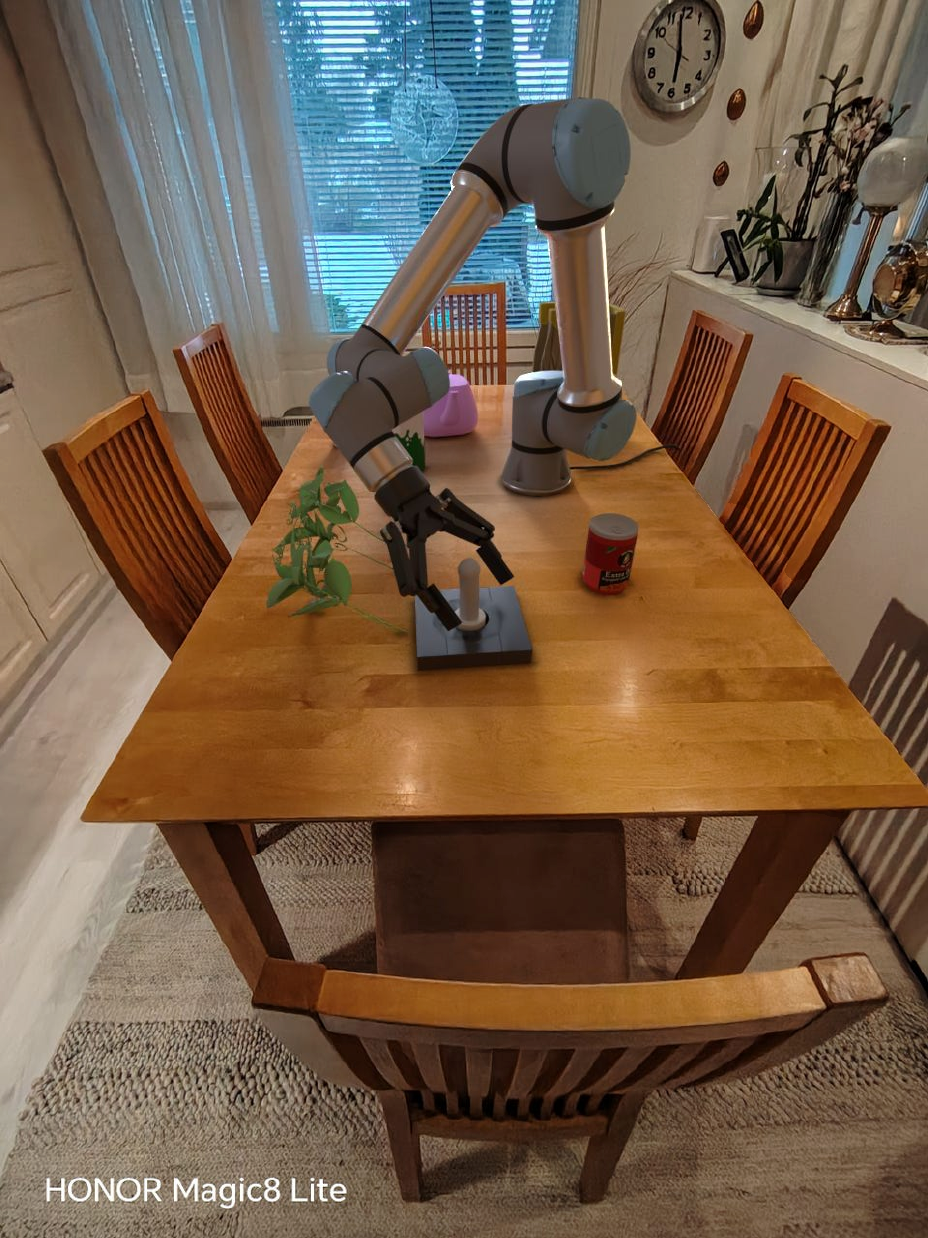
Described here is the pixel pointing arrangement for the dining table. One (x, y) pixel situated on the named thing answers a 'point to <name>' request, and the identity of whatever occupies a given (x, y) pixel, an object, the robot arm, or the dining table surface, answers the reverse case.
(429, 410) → the teapot
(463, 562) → the white peg with base
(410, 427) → the milk carton
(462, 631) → the plate
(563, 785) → the dining table surface
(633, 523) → the canned food
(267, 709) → the dining table surface
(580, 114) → the robot arm
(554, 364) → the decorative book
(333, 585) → the plant cuttings
